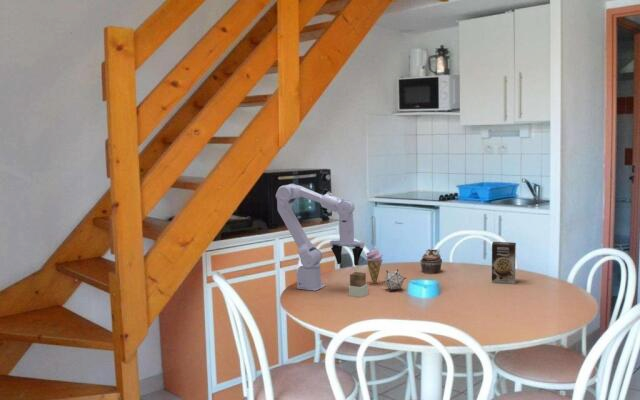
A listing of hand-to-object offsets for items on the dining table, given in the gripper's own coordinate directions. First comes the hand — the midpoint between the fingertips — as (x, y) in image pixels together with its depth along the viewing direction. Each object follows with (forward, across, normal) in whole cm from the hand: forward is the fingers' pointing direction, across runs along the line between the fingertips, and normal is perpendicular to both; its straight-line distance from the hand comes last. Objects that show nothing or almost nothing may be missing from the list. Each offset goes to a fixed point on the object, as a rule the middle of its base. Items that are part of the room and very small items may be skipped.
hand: (347, 264), depth 232 cm
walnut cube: (+7, +7, -5) cm, 11 cm away
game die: (+11, +17, +7) cm, 21 cm away
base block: (+11, +7, -5) cm, 14 cm away
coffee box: (+11, +53, +36) cm, 65 cm away
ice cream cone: (+11, +6, +13) cm, 18 cm away
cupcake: (+11, +20, +42) cm, 48 cm away
